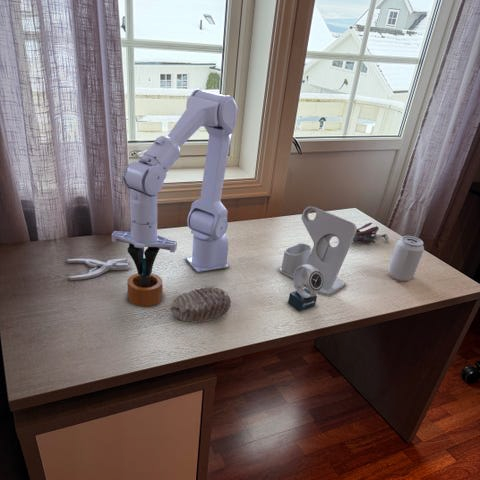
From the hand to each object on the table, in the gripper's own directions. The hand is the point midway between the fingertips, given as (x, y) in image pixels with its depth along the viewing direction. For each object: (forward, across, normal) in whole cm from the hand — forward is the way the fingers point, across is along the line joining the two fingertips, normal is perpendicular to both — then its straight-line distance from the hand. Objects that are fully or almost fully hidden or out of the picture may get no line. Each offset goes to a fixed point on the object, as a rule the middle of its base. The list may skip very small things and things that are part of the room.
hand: (144, 273), depth 105 cm
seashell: (+7, +14, -3) cm, 16 cm away
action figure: (+7, +57, +56) cm, 80 cm away
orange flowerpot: (+7, 0, 0) cm, 7 cm away
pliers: (+7, -16, +9) cm, 20 cm away
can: (+7, +67, +34) cm, 75 cm away
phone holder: (+7, +41, +24) cm, 48 cm away
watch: (+7, +38, +9) cm, 40 cm away
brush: (+4, 0, 0) cm, 4 cm away
